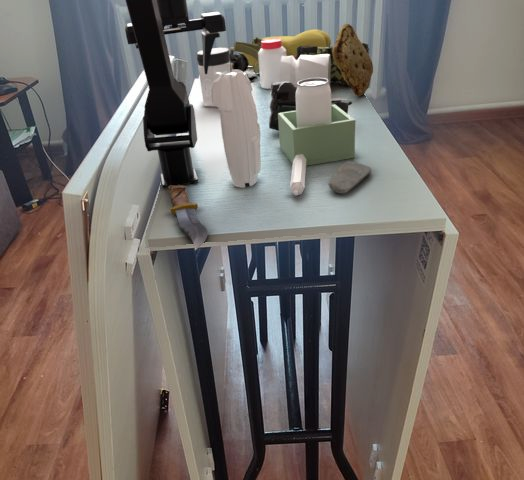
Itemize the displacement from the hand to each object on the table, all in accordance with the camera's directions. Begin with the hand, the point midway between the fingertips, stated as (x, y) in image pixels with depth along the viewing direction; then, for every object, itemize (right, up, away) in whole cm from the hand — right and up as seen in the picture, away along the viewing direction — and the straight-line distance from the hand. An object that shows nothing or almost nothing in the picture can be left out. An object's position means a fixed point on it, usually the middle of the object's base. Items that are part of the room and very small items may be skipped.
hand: (183, 77), depth 107 cm
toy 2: (+11, +40, +66) cm, 78 cm away
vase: (+33, +15, +28) cm, 46 cm away
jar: (+5, +10, +33) cm, 34 cm away
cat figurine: (+26, -4, +13) cm, 29 cm away
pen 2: (+27, +6, +24) cm, 37 cm away
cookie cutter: (+16, +30, +49) cm, 59 cm away
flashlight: (+13, -25, -12) cm, 31 cm away
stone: (+28, -24, -16) cm, 41 cm away
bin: (+26, -16, -3) cm, 31 cm away
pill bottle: (+19, +19, +42) cm, 50 cm away
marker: (+22, -26, -14) cm, 37 cm away
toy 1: (+4, +24, +45) cm, 51 cm away
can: (+26, -16, -4) cm, 31 cm away
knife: (+6, -33, -22) cm, 40 cm away
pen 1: (+9, +22, +45) cm, 51 cm away
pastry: (+37, +16, +24) cm, 47 cm away
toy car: (+33, +18, +31) cm, 49 cm away
